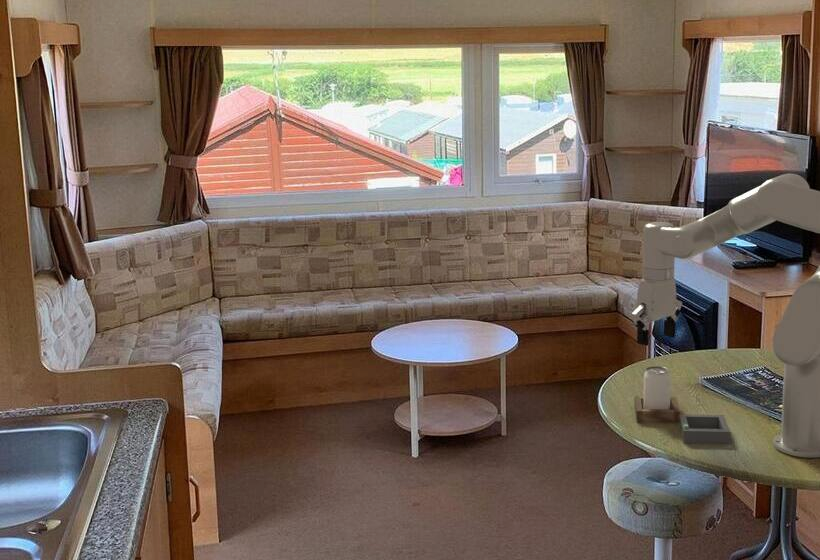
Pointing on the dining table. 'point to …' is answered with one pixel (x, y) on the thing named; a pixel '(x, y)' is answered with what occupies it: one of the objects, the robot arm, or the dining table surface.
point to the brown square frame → (656, 412)
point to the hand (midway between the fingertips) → (656, 340)
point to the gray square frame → (704, 429)
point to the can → (657, 388)
